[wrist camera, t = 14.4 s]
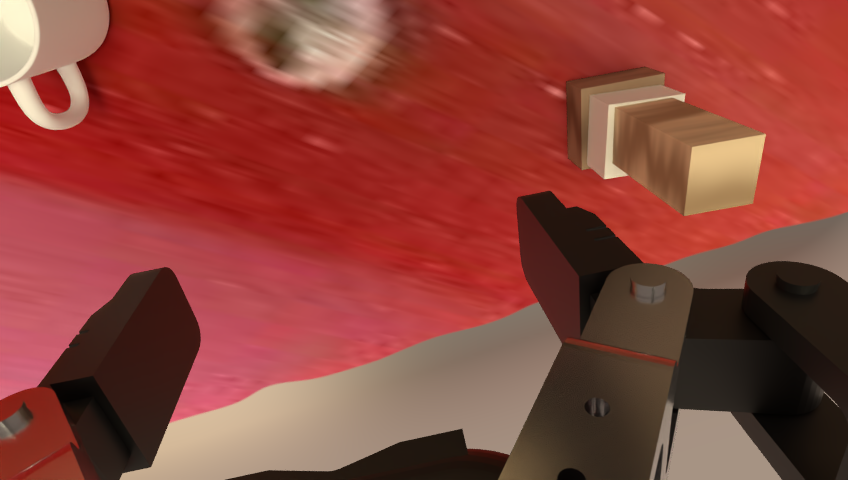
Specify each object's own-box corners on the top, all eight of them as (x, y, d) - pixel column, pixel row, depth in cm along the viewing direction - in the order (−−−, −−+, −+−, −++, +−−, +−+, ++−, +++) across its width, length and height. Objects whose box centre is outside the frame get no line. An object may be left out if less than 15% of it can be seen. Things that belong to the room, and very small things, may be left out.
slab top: (589, 94, 42) (608, 104, 38) (660, 84, 42) (685, 93, 39) (586, 164, 44) (604, 179, 41) (653, 154, 45) (675, 168, 42)
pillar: (614, 107, 39) (692, 147, 30) (672, 97, 39) (765, 134, 30) (612, 163, 41) (683, 215, 32) (666, 153, 41) (752, 203, 32)
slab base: (565, 81, 44) (581, 89, 41) (643, 66, 45) (664, 73, 41) (566, 157, 48) (581, 170, 45) (639, 143, 48) (659, 155, 45)
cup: (75, -78, 35) (-20, -95, 26) (156, 95, 41) (101, 131, 32) (-43, -49, 35) (-180, -56, 26) (54, 121, 41) (-30, 163, 32)
